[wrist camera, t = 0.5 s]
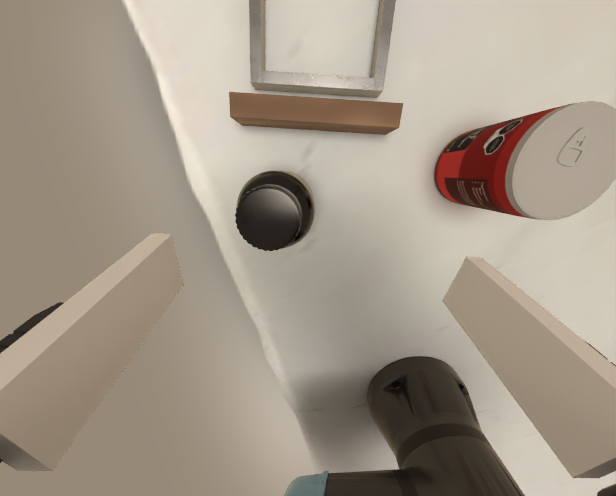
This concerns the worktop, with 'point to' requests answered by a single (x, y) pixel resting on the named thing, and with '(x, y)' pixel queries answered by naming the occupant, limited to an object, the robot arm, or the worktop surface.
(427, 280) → the worktop surface
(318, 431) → the worktop surface
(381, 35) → the frame
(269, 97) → the door edge rail
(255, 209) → the supplement bottle
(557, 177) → the canned food
